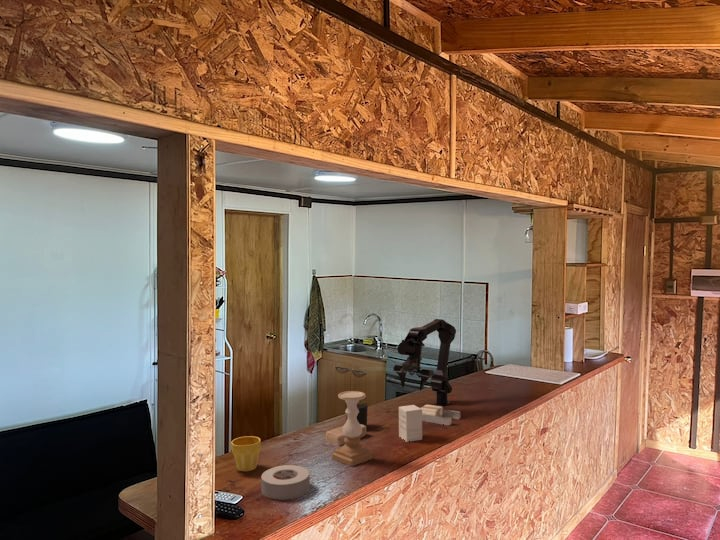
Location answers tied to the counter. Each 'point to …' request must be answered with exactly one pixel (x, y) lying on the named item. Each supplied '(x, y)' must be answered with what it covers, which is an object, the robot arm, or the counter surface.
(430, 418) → the chute
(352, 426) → the candle holder
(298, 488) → the tape roll
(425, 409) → the block
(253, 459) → the plant pot
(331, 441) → the brick
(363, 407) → the pen holder
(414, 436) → the supplement box
